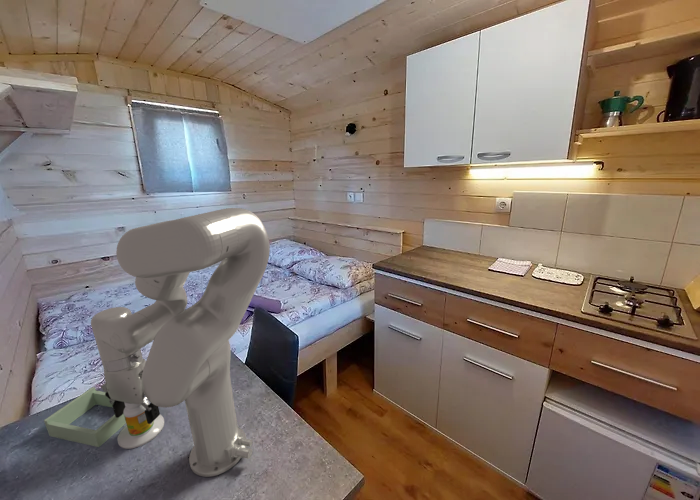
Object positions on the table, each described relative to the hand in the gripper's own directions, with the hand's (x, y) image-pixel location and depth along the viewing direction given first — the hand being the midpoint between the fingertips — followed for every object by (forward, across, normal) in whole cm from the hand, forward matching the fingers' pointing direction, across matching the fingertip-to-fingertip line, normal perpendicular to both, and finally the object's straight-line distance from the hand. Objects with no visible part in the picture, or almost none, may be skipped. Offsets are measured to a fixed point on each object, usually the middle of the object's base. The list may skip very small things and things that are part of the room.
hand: (138, 416), depth 76 cm
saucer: (+5, 0, 0) cm, 5 cm away
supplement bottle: (+4, 0, 0) cm, 4 cm away
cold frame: (+5, +14, 0) cm, 15 cm away
